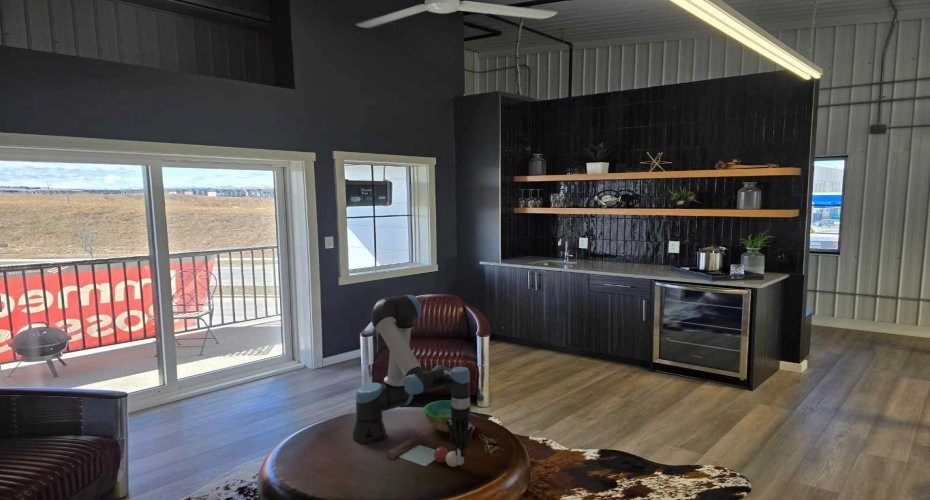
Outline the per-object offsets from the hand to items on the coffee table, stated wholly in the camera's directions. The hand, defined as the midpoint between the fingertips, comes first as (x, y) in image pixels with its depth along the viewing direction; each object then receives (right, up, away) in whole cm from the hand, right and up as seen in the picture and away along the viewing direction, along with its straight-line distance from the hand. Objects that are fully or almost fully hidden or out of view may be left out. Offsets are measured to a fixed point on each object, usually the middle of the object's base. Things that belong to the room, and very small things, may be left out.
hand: (460, 463), depth 227 cm
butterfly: (+12, -1, +19) cm, 23 cm away
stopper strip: (-24, 0, +16) cm, 29 cm away
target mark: (-16, -1, +11) cm, 20 cm away
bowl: (-7, +1, +38) cm, 39 cm away
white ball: (-3, +1, +2) cm, 4 cm away
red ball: (-8, +2, +5) cm, 10 cm away
